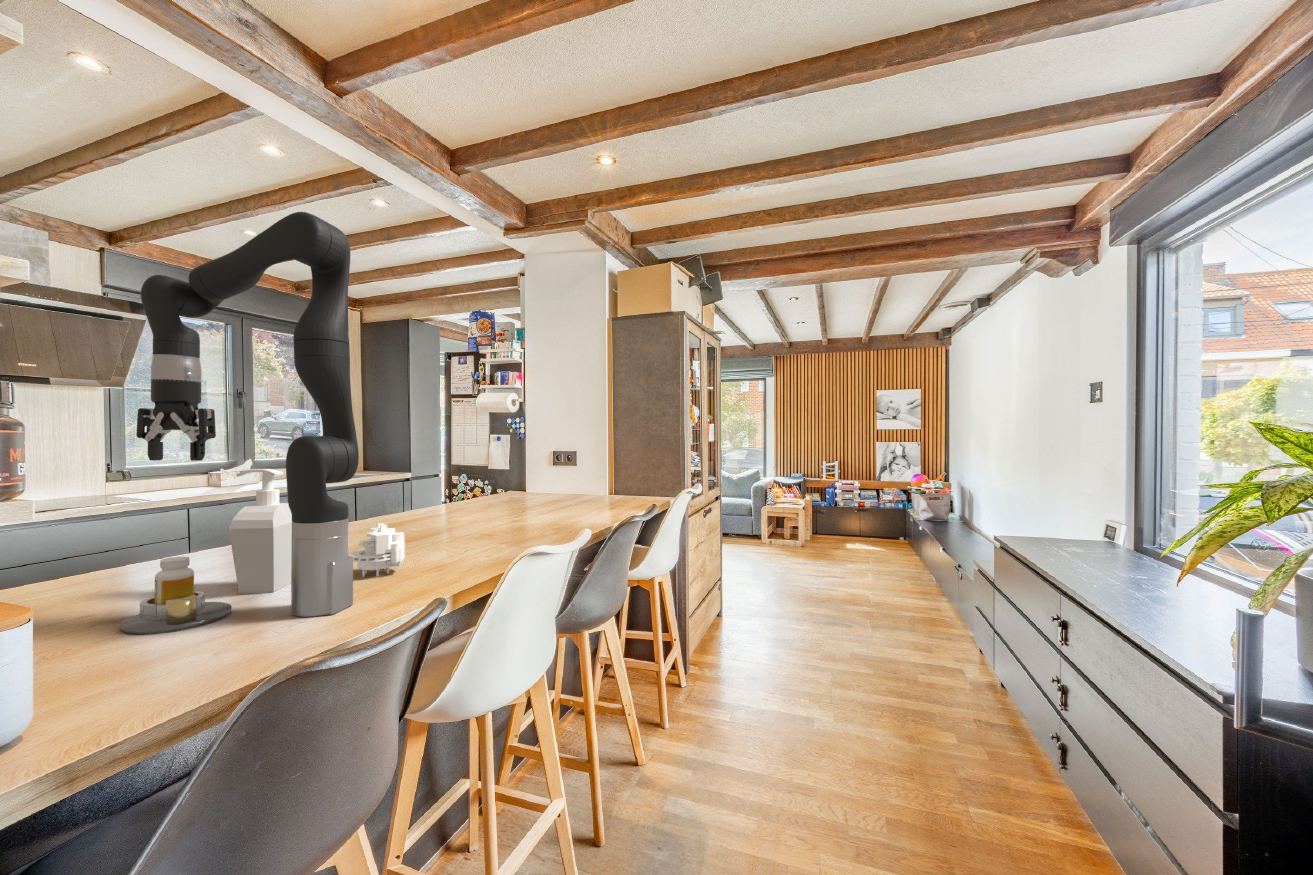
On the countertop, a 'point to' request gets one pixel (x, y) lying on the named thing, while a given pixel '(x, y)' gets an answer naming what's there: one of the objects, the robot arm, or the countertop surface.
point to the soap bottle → (262, 540)
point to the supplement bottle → (173, 579)
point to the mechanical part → (380, 550)
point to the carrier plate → (162, 628)
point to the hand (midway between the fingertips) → (176, 460)
